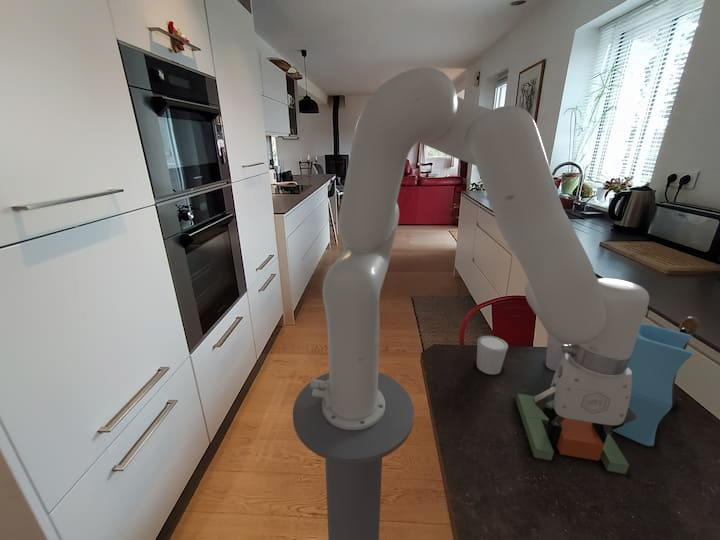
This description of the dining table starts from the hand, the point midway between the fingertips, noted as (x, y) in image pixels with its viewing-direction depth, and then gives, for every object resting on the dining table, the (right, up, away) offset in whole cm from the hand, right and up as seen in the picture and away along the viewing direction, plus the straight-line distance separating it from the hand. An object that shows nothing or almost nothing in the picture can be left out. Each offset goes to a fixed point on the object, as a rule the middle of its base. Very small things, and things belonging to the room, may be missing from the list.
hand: (573, 440), depth 58 cm
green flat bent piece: (+1, 0, +4) cm, 4 cm away
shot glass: (-6, +6, +22) cm, 24 cm away
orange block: (0, 0, 0) cm, 1 cm away
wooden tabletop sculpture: (+26, +2, +12) cm, 29 cm away
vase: (+14, 0, +6) cm, 15 cm away
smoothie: (+10, +6, +23) cm, 26 cm away
